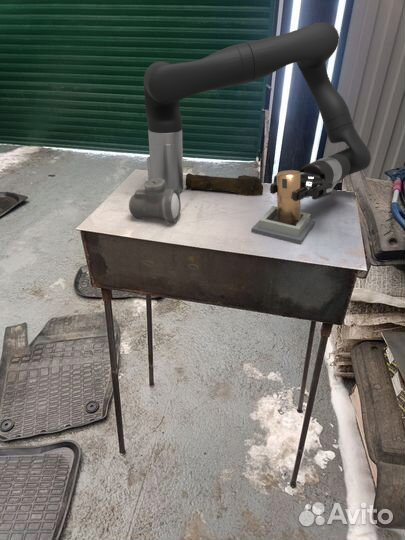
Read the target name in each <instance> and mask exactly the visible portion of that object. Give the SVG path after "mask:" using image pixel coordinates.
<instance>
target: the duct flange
mask: <svg viewBox="0 0 405 540" xmlns="http://www.w3.org/2000/svg"><path fill="white" fill-rule="evenodd" d="M315 223H316V220H315V219H311V213H308V212H304V211H300V221H298V222H296V223H291V224H285V223H280V222H279V221H278V207H277V206H275V205H272V206H271V207H270V208H269V209H268V210H267V211H266V212H265V213H264V214H263V215H262V216H261V217H260V218H259V220H258V222H256V223H255V224H254V225H253V226H252V227H251V230H250V231H251V232H250V233H251V234H252V233H253V234H256V235H261V236H265V237H269V238H274V239H277V240H280V241H286V242H288V243H292V244H293V243H294V244H297V245H302V244H303V242H304V241H305V240H306V238H307V236H308V234H309V233H310V231H312V229H313V227H314V226H315Z"/></svg>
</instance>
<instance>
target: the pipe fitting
mask: <svg viewBox="0 0 405 540" xmlns="http://www.w3.org/2000/svg"><path fill="white" fill-rule="evenodd" d="M143 187H144V188H138V189H135V191H134V194H133V195H131V197H130V199H129V202H128V209H129V213H130V215H131V216H132V217H133V218H135V219H163V220H165V221H166V222H167V223H178V221H179V219H180V216H181V209H182V207H181V204H182V203H181V198H180V197H181V196H180V193H178V191H177V189H167V190H166V189H165V180H164V179H161V178H155V179H150V180H148V179H147V180H146V181H145V182H143Z"/></svg>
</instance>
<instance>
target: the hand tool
mask: <svg viewBox="0 0 405 540" xmlns="http://www.w3.org/2000/svg"><path fill="white" fill-rule="evenodd" d="M185 189H186V190H190V189H191V190H192V191H193V190H196V189H197V190H210V191H217V192H218V191H220V192H232V193H236V194H237V195H238V196H261V195H263V194H264V186H263V183H262V180H261V179H260V178H259V177H258V176H254V175H253V176H251V175H246V174H245V175H243V174H242V175H238V176H237V177H223V176H210V175H202V174H194V173H191V172H188V173H187V174H186V176H185Z"/></svg>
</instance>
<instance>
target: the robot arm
mask: <svg viewBox="0 0 405 540" xmlns="http://www.w3.org/2000/svg"><path fill="white" fill-rule="evenodd" d="M339 42H340V35H339V32H338V30H337V28H336V27H335V26H334V25H332V24H330V23H328V22H323V21H322V22H321V21H320V22H315V23H312V24H307V26H303V27H301V28H298V29H295V30H293V31H290V32H289V31H288V32H285V33H284V34H278V35H275V36H268V37H266V38H261V39H257V40H253V41H247V42H242V43H238V44H234V45H230V46H227V47H225V48H222V49H219V50H217V51H216V52H213V53H211V54H209V55H207V56H205V57H203V58H200V59H196V60H191V61H185V62H175V63H169V62H166V61H162V60H161V61H156V62H155V61H154V62H153V63H151V64H150V65H149V66H148V67H147V69H146V70H145V72H144V76H143V90H144V94H143V95H144V102H145V104H144V105H145V106H144V107H145V117H146V121H147V130H148V134H147V135H148V144H149V145H148V148H149V156H148V157H147V158H146V162H147V163H146V165H147V181H148V180H150V179H155V178H161V179H164V180H165V189H166V190H167V189H177V191H178V193H179V194H180V193H182V192H183V190H184V163H183V161H184V160H183V158H184V155H183V154H184V153H183V119H182V115H181V110H180V101H181V100H182V101H183V100H184V99H187V98H191V97H193V96H195V95H198V94H201V93H204V92H209V91H215V90H221V89H226V88H232V87H235V86H241V85H245V84H249V83H252V82H256V81H258V80H261V79H263V78H265V77H268V76H269V75H271V74H274V73H275V72H277V71H279V70H281V69H283V68H284V67H286V66H288V65H291V64H292V65H293V64H296V65H297V67H298V69H299V71H300V72H301V75H302V76H303V79H304V80H305V82H306V84H307V86H308V89H309V91H310V92H311V95H312V97H313V98H314V99H313V100H315V104H316V106H317V108H318V111H319V114H320V115H321V119H322V123H323V126H324V129H325V131H326V134H327V138H328V140H329V142H330V143H332V144H338V143H345V144H346V145H347V146H348V148H345V149H343V150H340V151H337V152H335V153H334V154H331V155H328V156H327V157H324V158H323V157H322V158H319V159H317V160H315V161H312V162H310V163H308V164H306V165H305V164H304V166H303V167H302V168H300V170H298V171H299V172H300V189H298V190H296V191H295V192H294V196H293V200H294V201H298V200H300V201H301V200H303V199H309V198H310V197H311V198H312V200H319V199H322V198H324V197H327V196H331V194H332V190H333V186H334V185H336V183H338V182H340V181H342V180H343V179H345V178H346V177H347V176H350V175H352V174H356V173H358V172H361V171H364V170H366V169H367V168H368V167H369V166H370V164H371V162H372V161H371V160H372V155H371V152H370V150H369V148H368V146H367V145H366V143H365V142H364V141H363V140H362V138H361V137H360V134H359V133H358V132H357V129H356V128H355V126H354V122H353V119H352V115H351V112H350V110H349V106H348V105H347V103H346V101H345V99H344V97H342V94H340V93H339V92H338V91H337V89H336V88H335V87H334V85H333V83H332V82H331V79H330V77H329V74H328V72H327V65H326V62H327V61H328V60H329V59H330V58H331V57H332V56H333V54H334V53H335V51H336V50H337V48H338V45H339ZM269 193H270V194H272V195H274V194H277V174H276V175H274V176H273V183H271V184H270V187H269Z"/></svg>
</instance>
